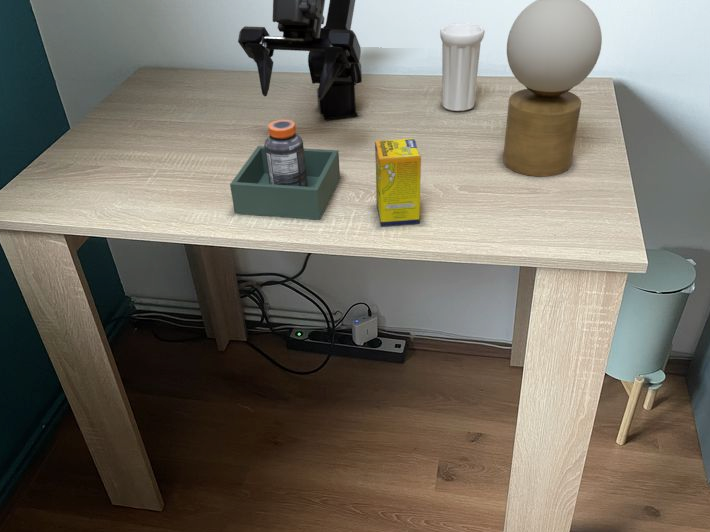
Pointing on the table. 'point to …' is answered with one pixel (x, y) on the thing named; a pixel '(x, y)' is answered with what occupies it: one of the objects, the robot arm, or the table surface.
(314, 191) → the green square tray
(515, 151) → the lamp
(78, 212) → the table surface
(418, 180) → the supplement box
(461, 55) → the cup
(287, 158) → the pill bottle
